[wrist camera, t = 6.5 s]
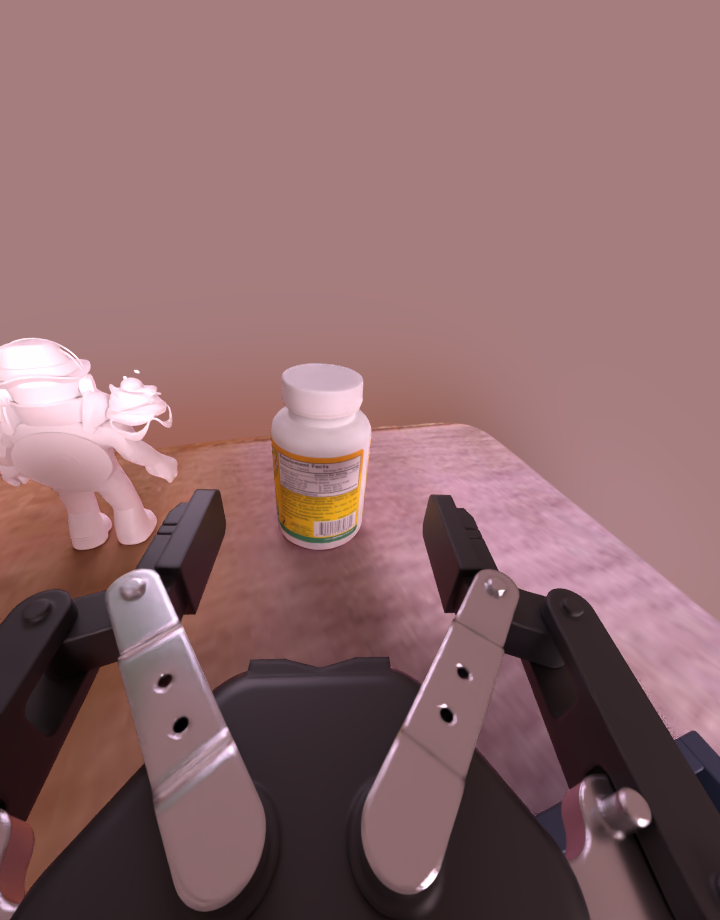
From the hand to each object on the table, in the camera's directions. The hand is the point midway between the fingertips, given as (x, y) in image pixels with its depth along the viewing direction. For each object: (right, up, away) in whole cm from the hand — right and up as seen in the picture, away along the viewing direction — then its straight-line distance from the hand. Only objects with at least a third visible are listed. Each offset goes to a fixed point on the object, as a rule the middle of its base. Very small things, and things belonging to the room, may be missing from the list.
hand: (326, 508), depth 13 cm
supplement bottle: (-1, -2, +9) cm, 9 cm away
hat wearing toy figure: (-13, -2, +7) cm, 15 cm away
